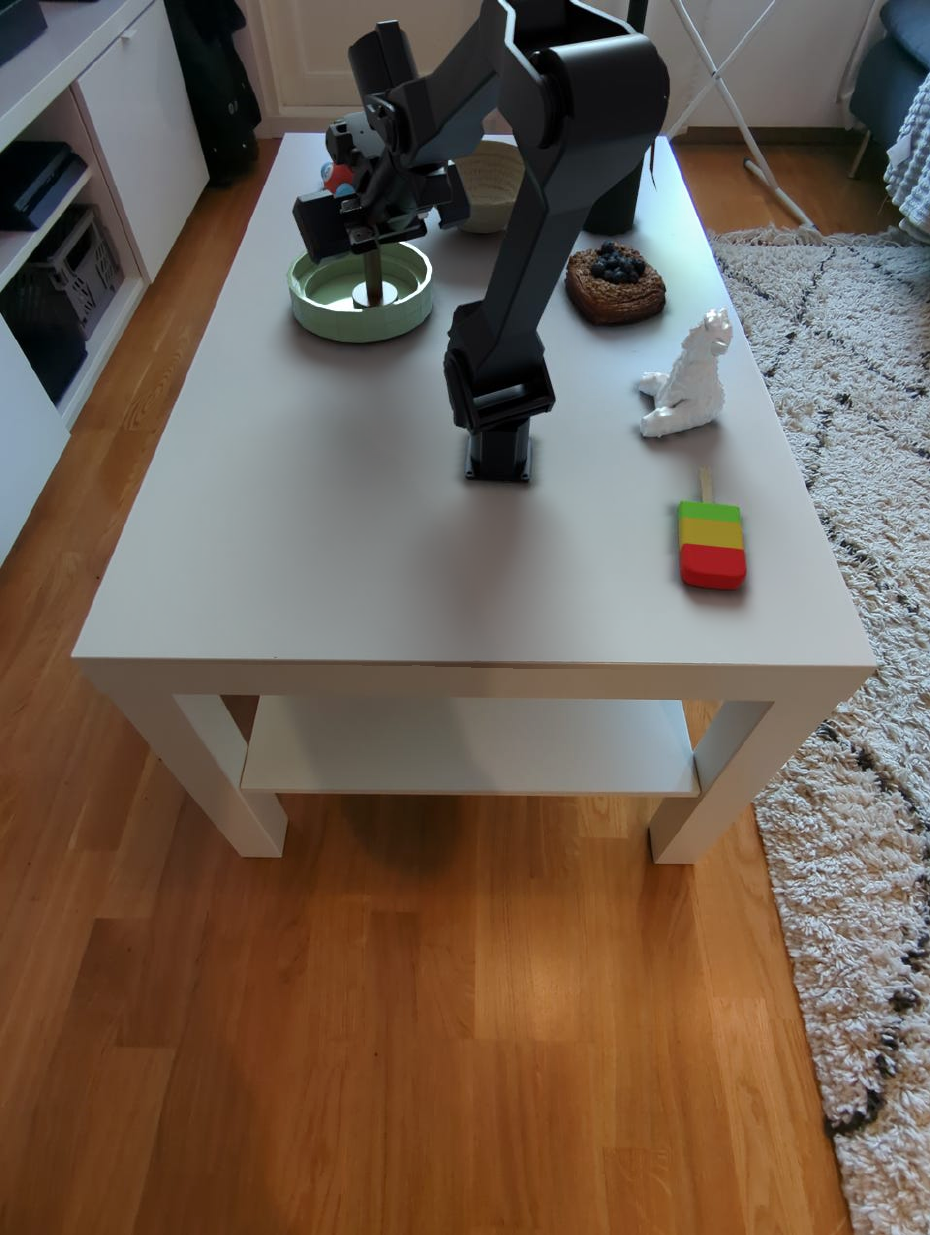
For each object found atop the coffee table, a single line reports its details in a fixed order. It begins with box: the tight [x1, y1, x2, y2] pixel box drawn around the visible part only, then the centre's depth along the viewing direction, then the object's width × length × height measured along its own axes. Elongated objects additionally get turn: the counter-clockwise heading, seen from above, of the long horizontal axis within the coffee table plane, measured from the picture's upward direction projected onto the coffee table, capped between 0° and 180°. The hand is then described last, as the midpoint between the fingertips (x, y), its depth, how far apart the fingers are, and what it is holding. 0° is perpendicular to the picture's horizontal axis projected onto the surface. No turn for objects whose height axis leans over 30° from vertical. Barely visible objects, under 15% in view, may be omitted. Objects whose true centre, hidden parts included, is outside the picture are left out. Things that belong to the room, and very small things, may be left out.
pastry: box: [563, 240, 667, 328], centre depth 92 cm, size 11×12×6 cm
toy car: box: [320, 161, 355, 198], centre depth 107 cm, size 9×9×10 cm
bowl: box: [433, 139, 525, 234], centre depth 102 cm, size 18×18×8 cm
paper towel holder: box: [352, 193, 398, 309], centre depth 86 cm, size 6×6×14 cm
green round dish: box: [285, 242, 435, 344], centre depth 91 cm, size 17×17×4 cm
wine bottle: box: [582, 0, 657, 237], centre depth 94 cm, size 8×10×30 cm
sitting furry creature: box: [638, 307, 734, 439], centre depth 76 cm, size 10×9×12 cm
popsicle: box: [677, 466, 747, 591], centre depth 70 cm, size 6×15×2 cm, turn 172°
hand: (366, 242), depth 87 cm, fingers closed on paper towel holder
